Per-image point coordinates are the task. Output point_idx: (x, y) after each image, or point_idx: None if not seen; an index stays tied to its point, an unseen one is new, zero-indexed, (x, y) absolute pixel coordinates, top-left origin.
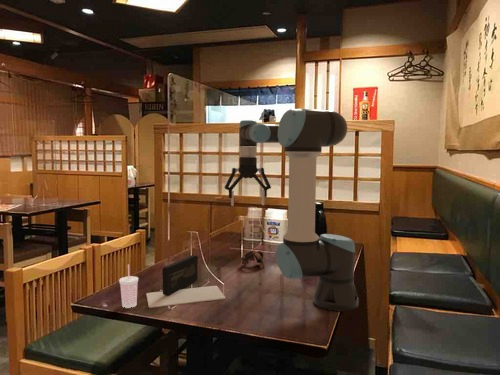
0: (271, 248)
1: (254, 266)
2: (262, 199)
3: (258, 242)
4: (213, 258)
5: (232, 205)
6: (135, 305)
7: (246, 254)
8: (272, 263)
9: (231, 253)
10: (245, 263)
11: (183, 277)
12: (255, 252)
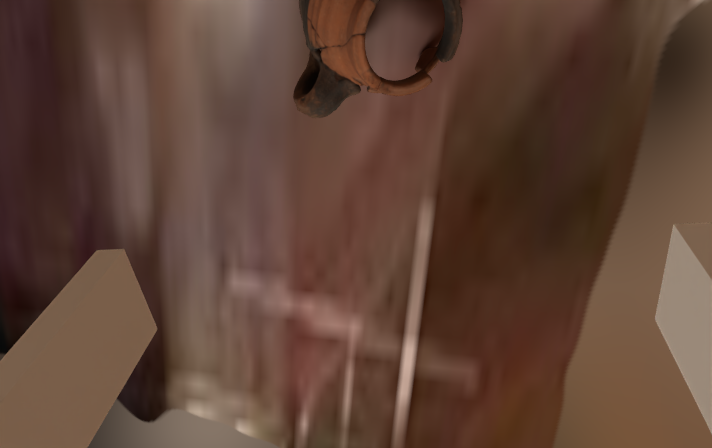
0: (249, 344)
1: None
2: (83, 338)
3: (313, 436)
4: (608, 207)
5: (704, 228)
6: None
7: (414, 79)
8: (246, 75)
9: (479, 287)
10: (422, 57)
11: None
12: (347, 31)
